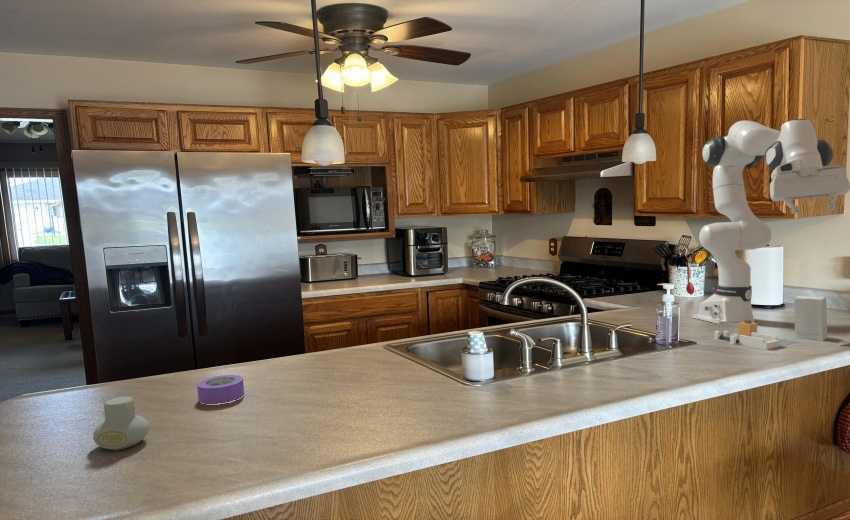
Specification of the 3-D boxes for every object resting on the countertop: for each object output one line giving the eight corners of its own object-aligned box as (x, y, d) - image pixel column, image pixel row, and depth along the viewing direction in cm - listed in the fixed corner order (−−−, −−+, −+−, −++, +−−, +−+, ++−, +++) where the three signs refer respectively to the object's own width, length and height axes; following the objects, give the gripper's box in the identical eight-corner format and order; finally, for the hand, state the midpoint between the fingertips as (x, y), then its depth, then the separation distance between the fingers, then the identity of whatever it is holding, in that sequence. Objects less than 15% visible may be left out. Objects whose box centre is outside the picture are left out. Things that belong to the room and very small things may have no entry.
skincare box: (827, 340, 193) (828, 296, 192) (822, 344, 189) (823, 299, 187) (798, 337, 199) (799, 294, 198) (793, 340, 195) (793, 296, 194)
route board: (706, 341, 198) (706, 330, 198) (739, 334, 207) (739, 323, 206) (763, 353, 181) (763, 340, 180) (797, 345, 189) (797, 333, 189)
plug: (738, 337, 198) (738, 319, 198) (745, 335, 200) (745, 318, 200) (749, 339, 195) (749, 321, 194) (757, 337, 197) (757, 320, 196)
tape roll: (196, 408, 150) (194, 389, 150) (200, 395, 162) (199, 377, 161) (243, 402, 153) (242, 384, 153) (245, 390, 165) (243, 372, 164)
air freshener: (156, 436, 132) (152, 393, 131) (139, 451, 124) (135, 405, 123) (107, 438, 132) (103, 395, 131) (87, 453, 124) (83, 408, 123)
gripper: (840, 168, 176) (849, 211, 172) (765, 176, 181) (772, 218, 178) (848, 159, 170) (858, 203, 166) (770, 168, 176) (778, 211, 172)
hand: (813, 211), depth 172 cm, fingers open, 8 cm apart
